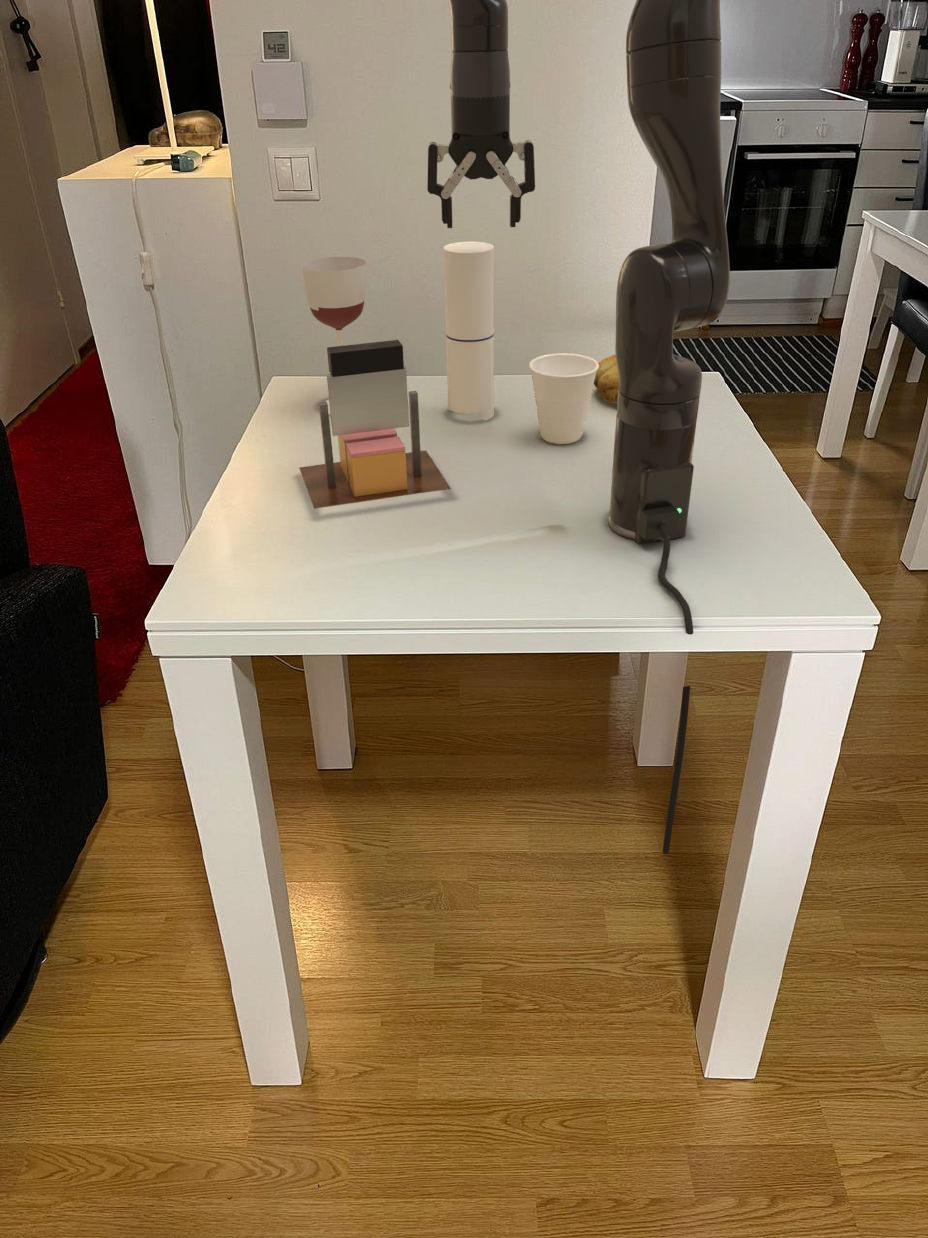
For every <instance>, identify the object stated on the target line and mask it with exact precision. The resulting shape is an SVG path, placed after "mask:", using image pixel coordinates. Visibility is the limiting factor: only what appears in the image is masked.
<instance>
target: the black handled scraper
mask: <svg viewBox="0 0 928 1238" xmlns="http://www.w3.org/2000/svg"><path fill="white" fill-rule="evenodd" d="M326 353H327V362H328V363H327V364H328V372H329V373H327V374H326V384H327V393H328V400H329V404H330V414H329V416H330V424H331V425H330V426H331V434H332V435H331V436H333V437H338V435H346V434H354V433H362V432H369V431H377V430H385V429H393V428H394V429H398V428H399V429H401V428H407V427H410V413H409V394H408V380H407V379H408V378H407V365H405V362H404V361H405V360H404V345H403V344H402V343H401V342H400V340H399V339H393V340H392V339H391V340H384V341H374V342H365V343H356V344H348V345H347V344H346V345H343V346H338V345H337V346H329V347H326Z"/></svg>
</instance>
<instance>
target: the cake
mask: <svg viewBox="0 0 928 1238" xmlns="http://www.w3.org/2000/svg"><path fill="white" fill-rule="evenodd" d="M337 442H338V451H339V462H340V464H341V468H342V470H343V472H344V474H345V476H346V479H347V481H348V482H349V484H350V487H351V490H352V492H353V494H354V496H355V497H358V496H365V495H371V494H378V493H385V492H392V491H399V490H406V489H407V472H406V453H407V452H406V446H405V444H404V443H403V441H402V439H401V437H400V436H398V433H397V431H396V430H395V428H393V429H385V430H377V431H369V432H362V433H354V434H346V435H338V436H337Z"/></svg>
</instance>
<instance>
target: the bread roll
mask: <svg viewBox="0 0 928 1238" xmlns="http://www.w3.org/2000/svg"><path fill="white" fill-rule="evenodd" d="M598 364H599V368H598V370H597V371H596V376H595V380H594V385H593V386H594V387H595V388H596V389H597V391H598V393H599V395H600V397H602V400H604V401H605V402H608V403H610V404H611V403H612V404H617V403H618V390H619V373H618V368H617V364H616V357H615V354H612V355H610V356H607V357H605V358H603V359H601V360H600V361H598Z"/></svg>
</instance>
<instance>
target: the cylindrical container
mask: <svg viewBox="0 0 928 1238" xmlns="http://www.w3.org/2000/svg"><path fill="white" fill-rule="evenodd" d="M494 259H495V247H494V245H493V244H492V243H489V242H483V241H459V242H452V243H448V244H446V245H444V246H443V271H444V272H443V273H444V274H443V275H444V276H443V277H444V307H445V308H444V310H445V312H444V313H445V342H446V343H445V344H446V345H445V346H446V376H447V377H446V378H447V380H446V381H447V383H446V384H447V411H449V412H450V411H452V412H454V413H458V414H462V415H463V414H465V415H475V414H478V416H479V417H480V418H481V420H482V421H483V422H486V421H489V420H490V419H492V418H493V417H494V415H495V348H494V347H495V304H494V303H495V286H494V285H495V260H494Z"/></svg>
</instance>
